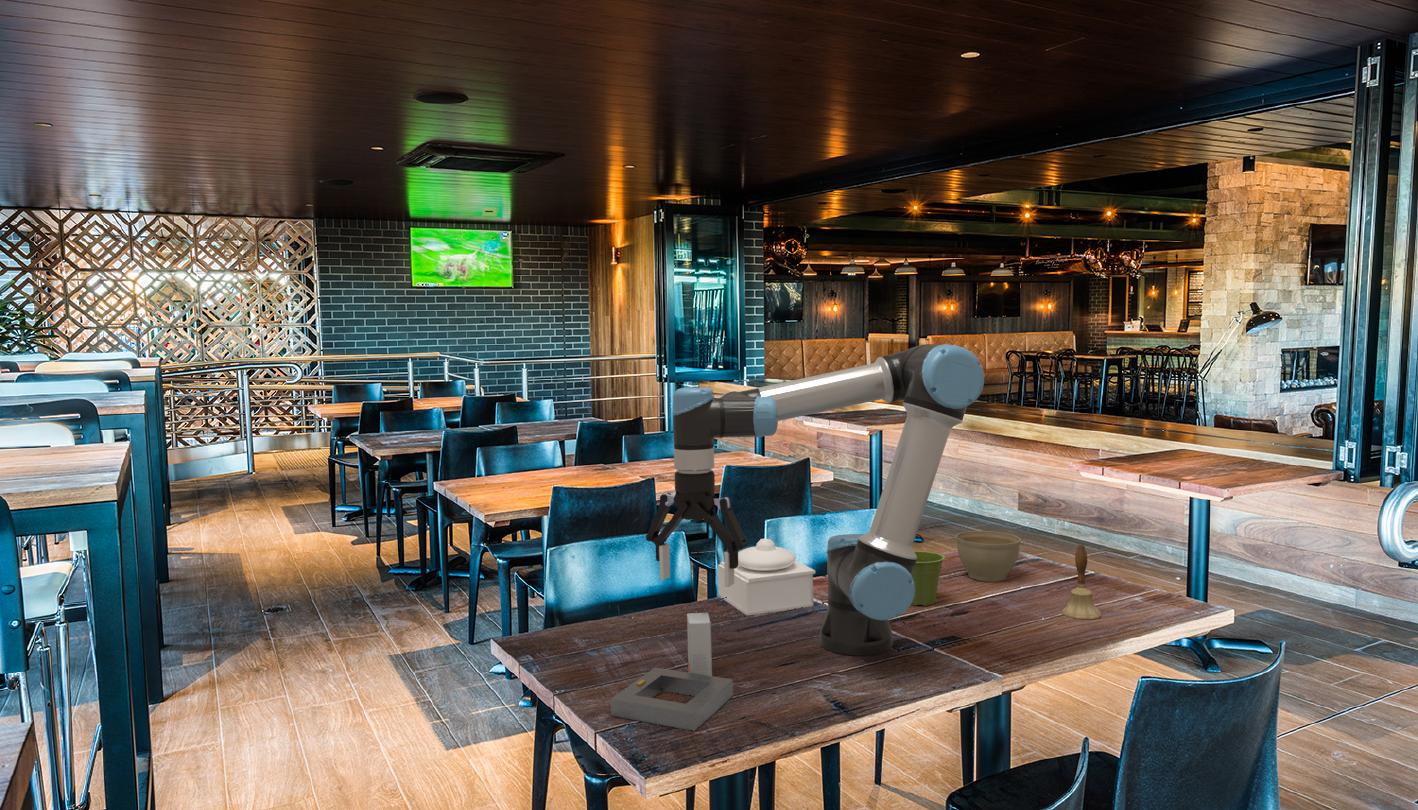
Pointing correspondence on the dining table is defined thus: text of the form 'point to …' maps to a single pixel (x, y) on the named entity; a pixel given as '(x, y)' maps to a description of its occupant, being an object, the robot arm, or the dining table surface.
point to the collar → (689, 716)
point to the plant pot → (926, 577)
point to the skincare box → (699, 644)
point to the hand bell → (1081, 592)
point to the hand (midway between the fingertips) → (696, 581)
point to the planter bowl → (987, 554)
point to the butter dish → (767, 580)
